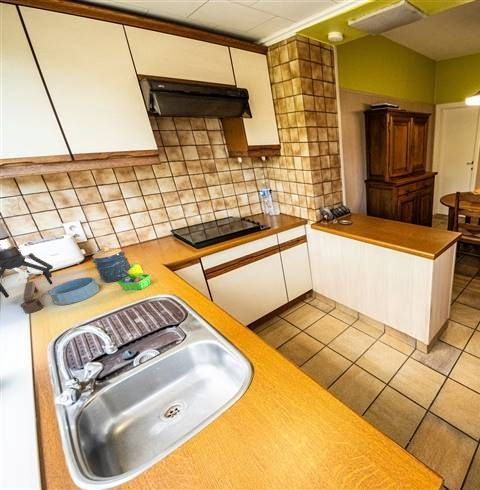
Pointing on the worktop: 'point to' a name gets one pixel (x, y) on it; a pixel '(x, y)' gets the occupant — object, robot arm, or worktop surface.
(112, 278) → the canister
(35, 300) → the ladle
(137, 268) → the fruit basket
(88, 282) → the bowl
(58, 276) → the worktop surface
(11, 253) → the robot arm
